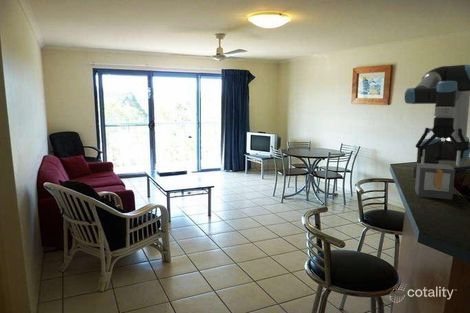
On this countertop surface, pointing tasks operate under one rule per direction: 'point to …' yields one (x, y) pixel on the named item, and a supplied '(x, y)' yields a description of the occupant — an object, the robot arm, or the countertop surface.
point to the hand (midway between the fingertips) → (439, 164)
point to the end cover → (437, 181)
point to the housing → (432, 168)
